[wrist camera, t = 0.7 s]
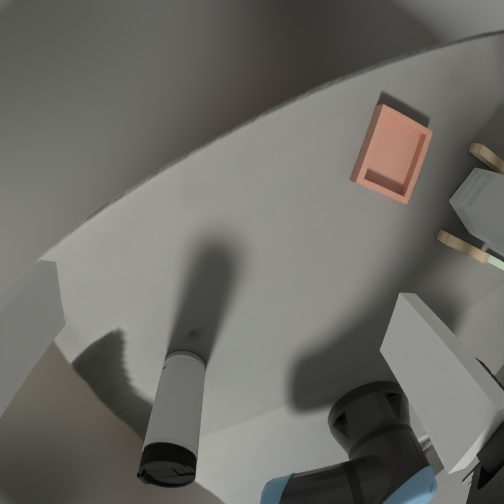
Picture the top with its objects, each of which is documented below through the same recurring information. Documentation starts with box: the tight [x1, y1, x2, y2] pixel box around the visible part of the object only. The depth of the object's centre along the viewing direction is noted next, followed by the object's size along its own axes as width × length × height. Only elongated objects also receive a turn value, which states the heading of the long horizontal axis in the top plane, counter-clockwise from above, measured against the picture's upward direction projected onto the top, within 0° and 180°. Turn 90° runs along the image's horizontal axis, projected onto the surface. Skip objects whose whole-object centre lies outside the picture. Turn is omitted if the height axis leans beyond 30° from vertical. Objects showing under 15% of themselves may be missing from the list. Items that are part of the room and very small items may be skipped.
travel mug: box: [137, 351, 206, 488], centre depth 36 cm, size 6×7×20 cm
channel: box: [436, 142, 504, 264], centre depth 37 cm, size 10×15×2 cm, turn 161°
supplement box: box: [449, 168, 504, 253], centre depth 32 cm, size 7×7×13 cm
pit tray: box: [350, 104, 433, 205], centre depth 35 cm, size 8×10×2 cm
